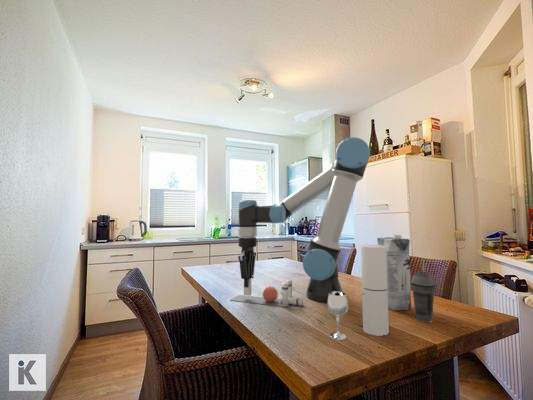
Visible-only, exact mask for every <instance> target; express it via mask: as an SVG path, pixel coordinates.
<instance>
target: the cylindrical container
mask: <svg viewBox="0 0 533 400" xmlns="http://www.w3.org/2000/svg"><path fill="white" fill-rule="evenodd" d="M360 249H361V250H360V252H361V253H360V254H361V255H360V256H361V259H360V261H361V291H362V293H361V296H362V299H361V301H362V330H363V332H365V333H367V334H369V335H371V336H378V337H381V336H382V337H383V335H385V336H387V335H389V334H388V333H389V332H390V328H389V326H390V325H389V308H388V289H387V253H386V246H381V245H378V244H363V245H360Z"/></svg>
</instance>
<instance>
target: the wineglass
mask: <svg viewBox="0 0 533 400" xmlns="http://www.w3.org/2000/svg"><path fill="white" fill-rule="evenodd" d="M326 305H327V311H328V312H329V314H331V315H332V316H333V317H336V318H335V322H336V332H332V333H330V335H329V336H330V338H331V339H333V340H337V341H343V340H346V339H347V336H346V335H345V334H344V333H341V332H340V326H339V325H340V320H341V319H340V317H343V316H345V315H347V313H348V310H349V301H348V298H347V294H346V293H345V292H344V291H342V292H339V291H332V292H329V295H328V302H327V304H326Z"/></svg>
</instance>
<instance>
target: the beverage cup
mask: <svg viewBox="0 0 533 400" xmlns="http://www.w3.org/2000/svg"><path fill="white" fill-rule="evenodd" d="M410 286H411V290H412V294H413V304H414V312H415V318H417V319H418V320H417V319H416V320H417V321H419V320H420V321H419V322H422V321H424V322H423V323H431V322H430V321H432V322H433V316H434V300H435V299H434V298H435V296H434V295H435V291H436V286H437V285H436V281H435V279H434V276H432V275H431V274H430V273H429V272H426V271H425V258H422V271H417V272H416V273H414V274H413V275H412V277H411V278H410Z"/></svg>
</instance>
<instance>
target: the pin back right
mask: <svg viewBox="0 0 533 400" xmlns="http://www.w3.org/2000/svg"><path fill="white" fill-rule="evenodd" d="M292 281H293V280H292V279H286V280H285V283H288V298H293V282H292Z"/></svg>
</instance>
